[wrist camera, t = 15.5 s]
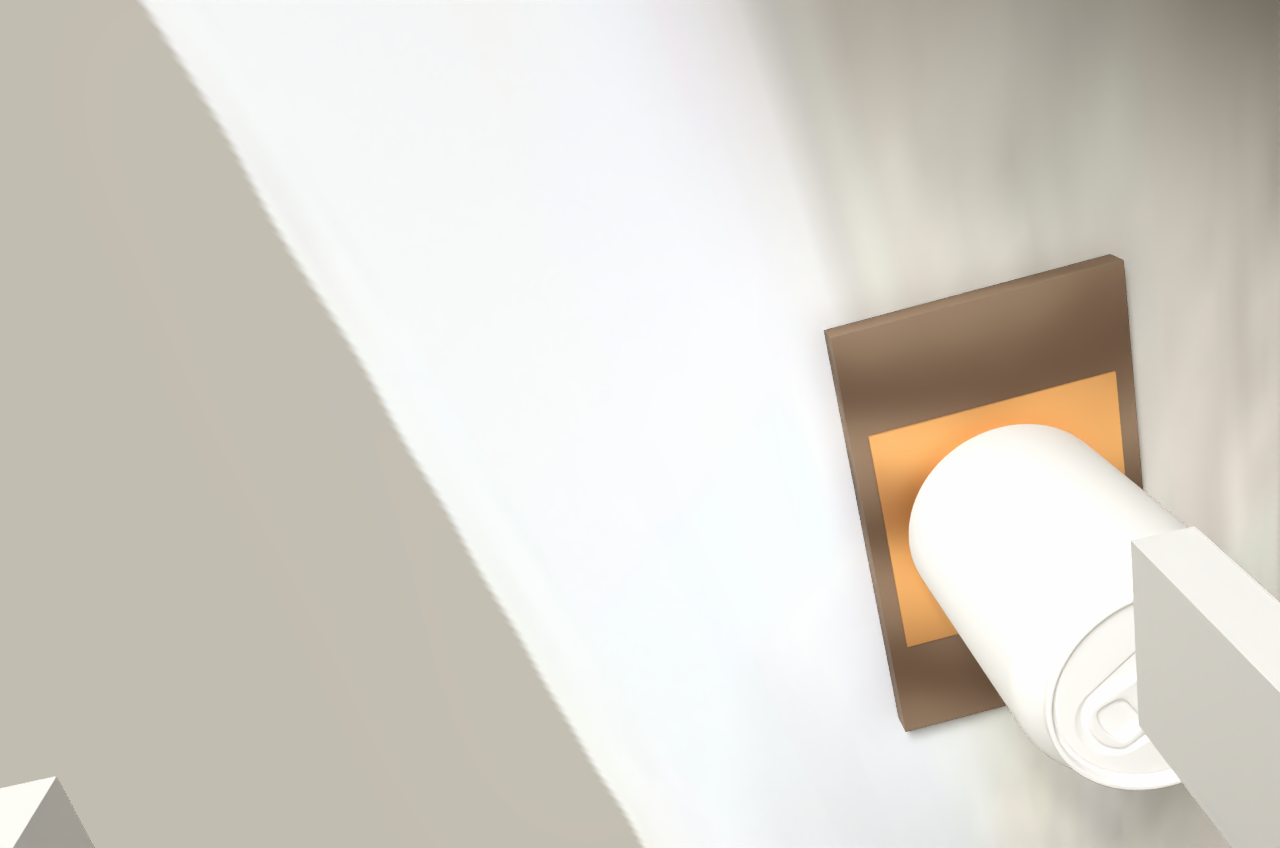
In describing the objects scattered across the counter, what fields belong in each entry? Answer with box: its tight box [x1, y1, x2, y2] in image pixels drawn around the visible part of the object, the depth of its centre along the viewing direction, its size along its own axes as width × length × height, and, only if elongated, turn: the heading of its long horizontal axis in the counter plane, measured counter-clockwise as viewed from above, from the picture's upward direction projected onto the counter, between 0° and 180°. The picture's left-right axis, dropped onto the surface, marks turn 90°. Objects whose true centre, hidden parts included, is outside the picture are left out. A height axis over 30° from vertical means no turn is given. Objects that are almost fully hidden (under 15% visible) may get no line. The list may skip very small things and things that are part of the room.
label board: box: [824, 254, 1143, 732], centre depth 44 cm, size 18×11×1 cm, turn 14°
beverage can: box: [909, 424, 1189, 790], centre depth 38 cm, size 8×8×12 cm
